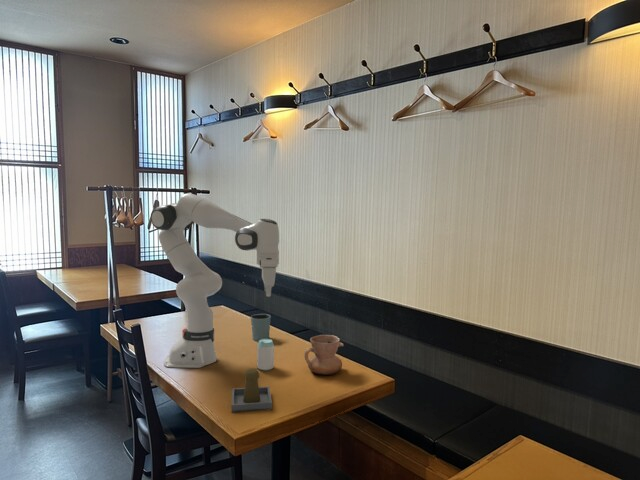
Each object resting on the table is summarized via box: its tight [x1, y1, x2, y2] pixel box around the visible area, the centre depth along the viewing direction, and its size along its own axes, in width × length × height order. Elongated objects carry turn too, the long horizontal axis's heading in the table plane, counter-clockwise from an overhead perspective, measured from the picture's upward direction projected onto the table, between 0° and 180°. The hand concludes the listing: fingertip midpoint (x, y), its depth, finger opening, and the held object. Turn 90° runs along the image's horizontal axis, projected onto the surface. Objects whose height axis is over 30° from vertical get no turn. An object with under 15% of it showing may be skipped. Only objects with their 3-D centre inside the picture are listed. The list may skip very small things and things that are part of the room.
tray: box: [231, 386, 273, 413], centre depth 158 cm, size 14×14×2 cm
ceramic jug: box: [304, 334, 344, 376], centre depth 188 cm, size 18×14×14 cm
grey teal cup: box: [250, 313, 272, 342], centre depth 231 cm, size 10×10×12 cm
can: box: [256, 338, 275, 371], centre depth 191 cm, size 7×7×12 cm
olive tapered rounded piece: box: [243, 368, 260, 403], centre depth 158 cm, size 6×6×11 cm
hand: (267, 293), depth 179 cm, fingers open, 8 cm apart
